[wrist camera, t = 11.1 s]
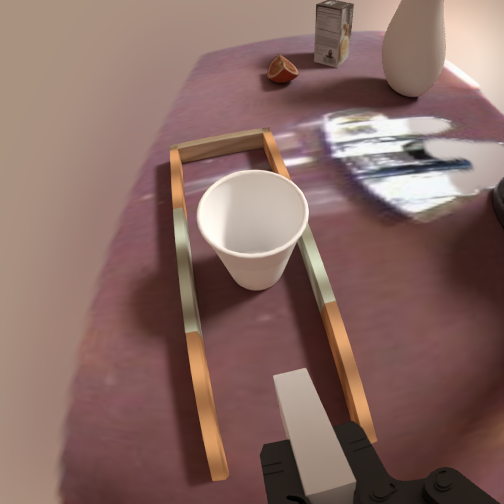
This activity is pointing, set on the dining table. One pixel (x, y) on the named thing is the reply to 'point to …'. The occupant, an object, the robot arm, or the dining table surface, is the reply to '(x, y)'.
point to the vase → (414, 46)
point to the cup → (253, 224)
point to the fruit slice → (281, 70)
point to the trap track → (190, 306)
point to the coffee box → (332, 32)
